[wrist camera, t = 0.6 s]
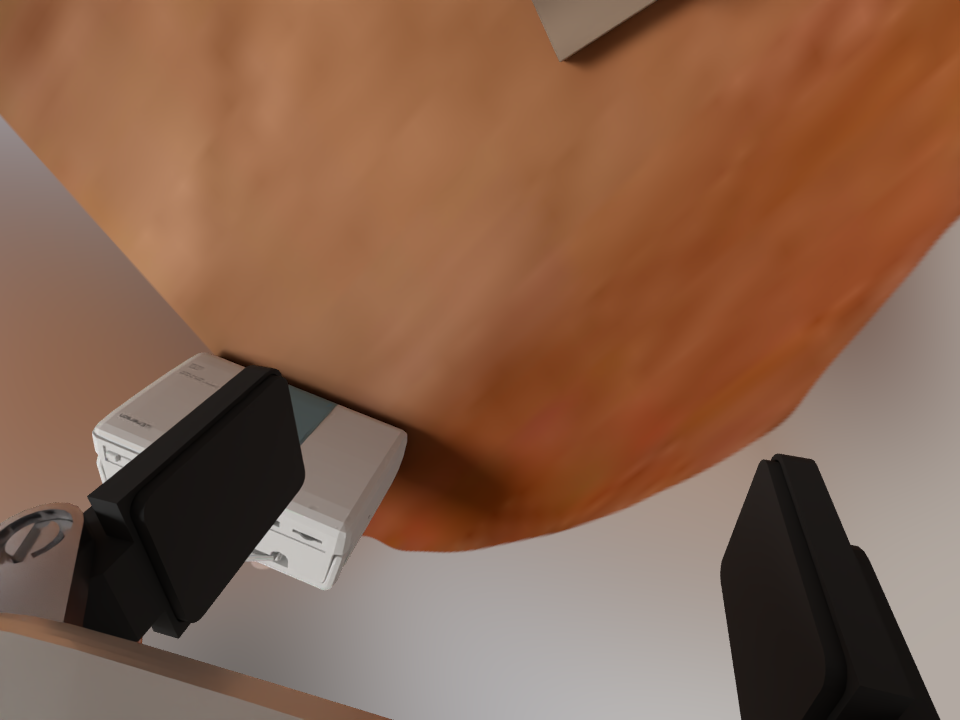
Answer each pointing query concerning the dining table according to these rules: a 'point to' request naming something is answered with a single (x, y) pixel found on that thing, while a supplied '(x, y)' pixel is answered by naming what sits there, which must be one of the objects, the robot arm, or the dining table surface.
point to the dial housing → (583, 21)
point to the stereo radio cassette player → (326, 455)
